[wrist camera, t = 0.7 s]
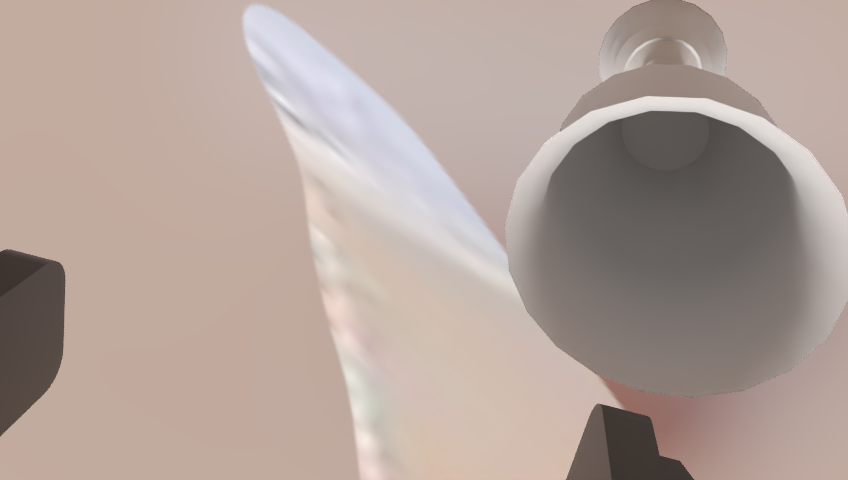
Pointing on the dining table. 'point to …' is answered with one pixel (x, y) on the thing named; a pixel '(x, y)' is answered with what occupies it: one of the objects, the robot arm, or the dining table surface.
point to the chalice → (677, 221)
